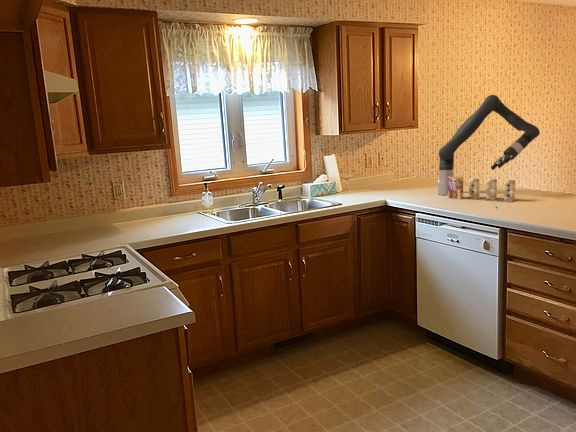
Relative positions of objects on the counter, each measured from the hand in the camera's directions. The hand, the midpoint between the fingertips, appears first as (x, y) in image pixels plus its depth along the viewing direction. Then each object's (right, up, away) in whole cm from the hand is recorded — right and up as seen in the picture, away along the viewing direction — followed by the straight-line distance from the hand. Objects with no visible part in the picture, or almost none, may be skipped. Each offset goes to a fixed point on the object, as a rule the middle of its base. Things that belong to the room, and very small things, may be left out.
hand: (495, 168), depth 308 cm
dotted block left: (-12, -19, +3) cm, 22 cm away
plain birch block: (-4, -19, -5) cm, 20 cm away
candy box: (-22, -20, +7) cm, 31 cm away
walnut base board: (-4, -21, -5) cm, 22 cm away
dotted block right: (+4, -21, -12) cm, 24 cm away
